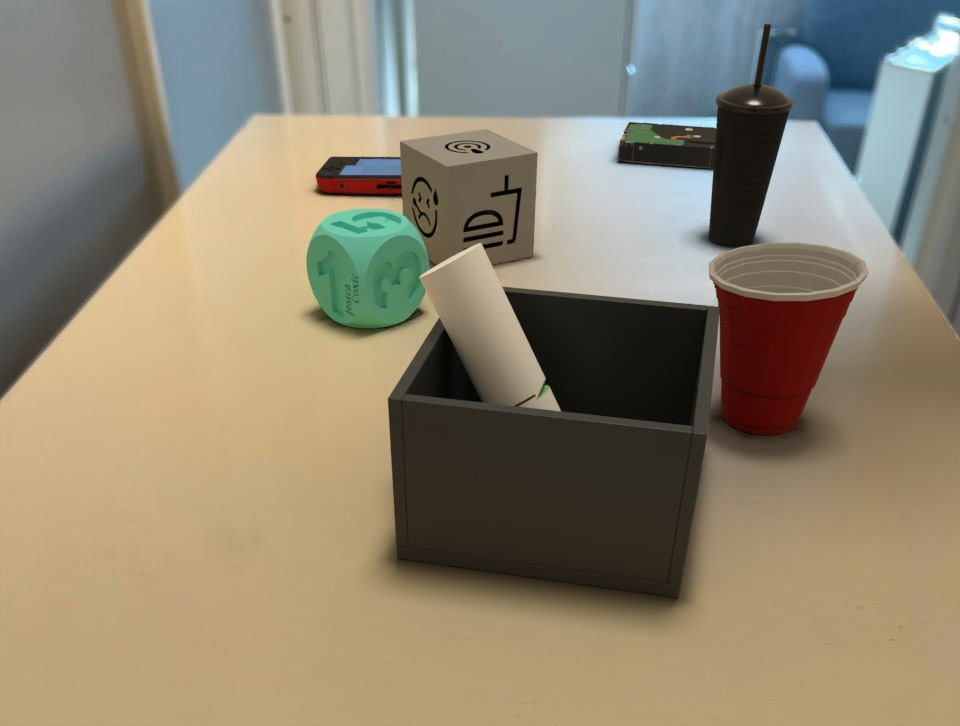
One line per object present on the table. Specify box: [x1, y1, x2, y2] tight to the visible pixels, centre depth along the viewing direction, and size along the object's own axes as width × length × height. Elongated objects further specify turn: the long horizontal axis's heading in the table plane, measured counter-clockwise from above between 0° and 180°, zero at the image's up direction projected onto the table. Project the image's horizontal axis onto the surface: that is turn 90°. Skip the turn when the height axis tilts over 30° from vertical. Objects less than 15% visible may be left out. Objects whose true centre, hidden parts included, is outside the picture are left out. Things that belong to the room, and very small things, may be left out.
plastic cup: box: [708, 242, 869, 436], centre depth 73 cm, size 11×11×12 cm
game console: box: [315, 155, 402, 195], centre depth 121 cm, size 14×13×2 cm
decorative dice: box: [305, 208, 430, 329], centre depth 89 cm, size 8×8×8 cm
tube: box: [419, 243, 561, 411], centre depth 63 cm, size 4×4×15 cm
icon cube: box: [399, 128, 539, 266], centre depth 101 cm, size 10×10×10 cm
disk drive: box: [617, 121, 716, 170], centre depth 131 cm, size 10×3×15 cm
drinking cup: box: [708, 23, 795, 248], centre depth 101 cm, size 8×8×20 cm
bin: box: [387, 286, 720, 599], centre depth 64 cm, size 18×18×11 cm
